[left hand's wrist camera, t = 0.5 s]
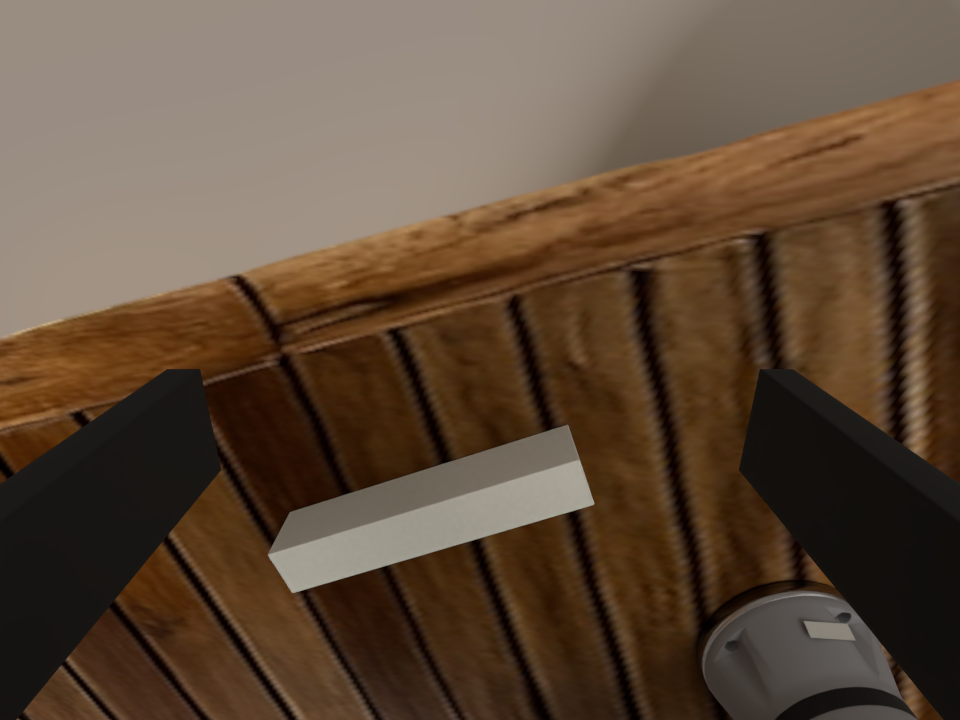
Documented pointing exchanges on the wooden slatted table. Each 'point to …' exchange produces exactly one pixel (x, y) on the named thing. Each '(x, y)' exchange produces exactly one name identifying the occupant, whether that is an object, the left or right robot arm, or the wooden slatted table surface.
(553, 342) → the wooden slatted table surface
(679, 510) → the wooden slatted table surface
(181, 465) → the left robot arm
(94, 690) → the wooden slatted table surface
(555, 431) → the bar
